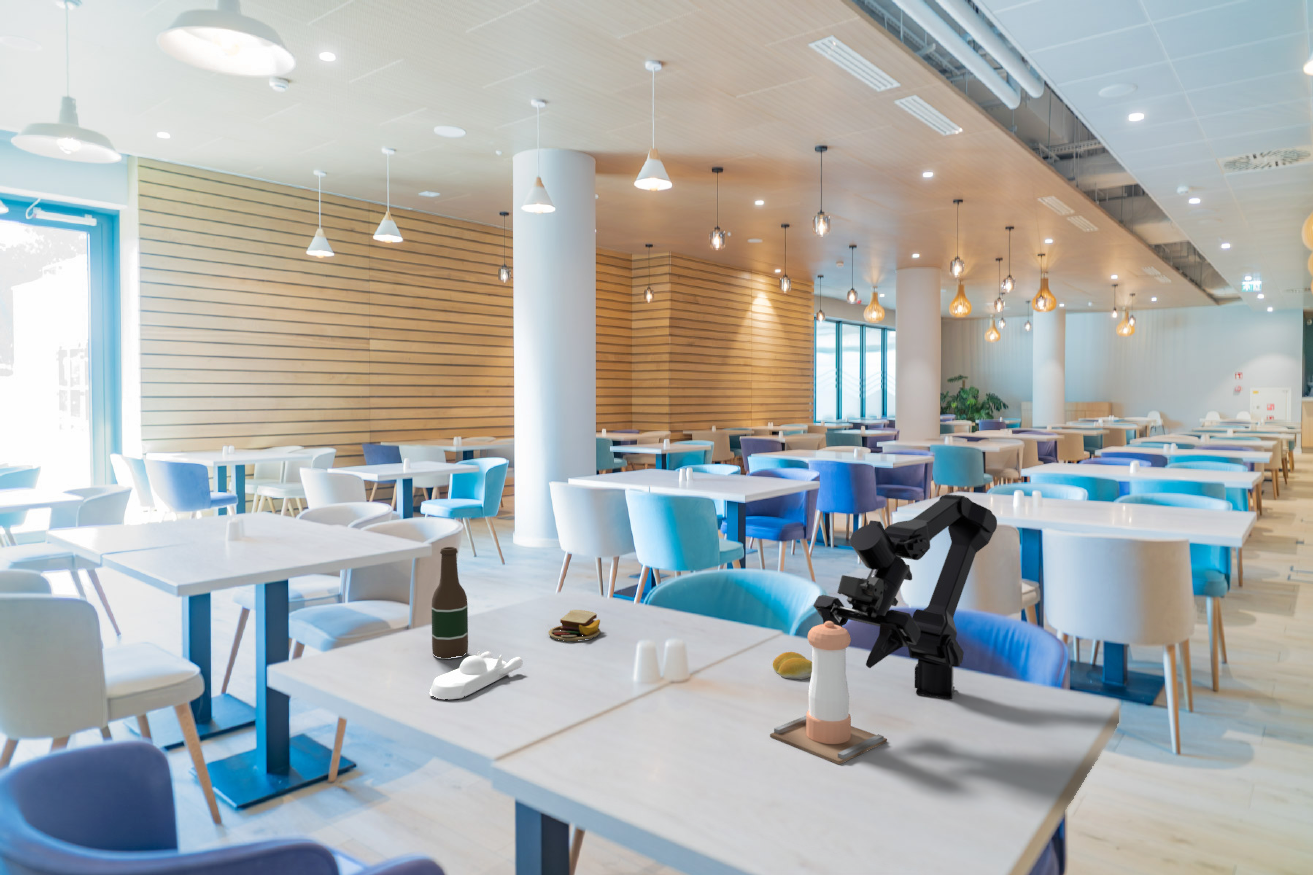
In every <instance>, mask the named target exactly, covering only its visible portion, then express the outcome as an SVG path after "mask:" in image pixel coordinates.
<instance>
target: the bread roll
mask: <svg viewBox="0 0 1313 875" xmlns="http://www.w3.org/2000/svg"><path fill="white" fill-rule="evenodd" d="M772 668H773V670H774V672H775V673H777V674H778V675H779V676H780V677H781V678H785V679H792V680H804V679H809V678H811V674H812V660H810V659H808V658H806V657H805V656H804V655H802V654H800V653H798V652H795V651H786V652H782V653H781V654H779V655H778V656H776V657H775V658H774V660H773V661H772Z"/></svg>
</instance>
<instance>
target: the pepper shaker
mask: <svg viewBox="0 0 1313 875" xmlns="http://www.w3.org/2000/svg"><path fill="white" fill-rule="evenodd" d="M807 640H808V643H809V645H811V647H812V649H811V651H812V653H811V654H812V656H811V657H812V658H811V661H812V674H811V677H810V680H809V687H808V691H807V692H808V710H807V712H806V715H805V716H806V735H807V736H808V737H809V738H810V739H812V740H814V741H817V742H820V743H825V744H840V743H845V742H847V741H849V740H850V738H851V726H852V717H851V714H850V713H849V709H850V707H849V706H850V693H849V687H848V685H849V684H848V680H847V679H848V678H847V661H846V660H847V659H846V658H847V656H846V655H847V649H846V648H848V647H849V646H850V643H851V641H852V639H851V635H850V633H849V631H848V630H847V628H844V627H843V626H842V627H841V626H838V625H834V623H833V622H832V621H826V622H825V623H824V624H823V623H822V624H818V625H814V626H812V627H811V629H810V630H809V631H808V633H807Z"/></svg>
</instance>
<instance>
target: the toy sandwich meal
mask: <svg viewBox="0 0 1313 875" xmlns="http://www.w3.org/2000/svg"><path fill="white" fill-rule="evenodd" d="M597 618H598V617H597V613H596V612H594V611H590V610H586V609H585V610H583V609H571V610H569V612H568V613H567V614H565V615H564V616H562V618H560V619H559V622H560V624H561V625H559V626H554V627H552V628H550V629H549V630H548V632H547V633H548V635H549V636H550V637H551V638H552V637H553V638H554V639H553V638H552V639H553V640H555V639H559V640H564V641H563V642H566V641H577V642H579V641H578V640H585V639H590V640H592V639H591V638H593V637H595V638H596V637H597V636H599V634H600V633H601V628H600V624H601V619H597ZM595 619H596V620H595ZM560 630H561V631H560ZM582 635H583V636H582ZM593 639H594V638H593ZM559 640H558V641H559ZM585 641H586V640H585Z"/></svg>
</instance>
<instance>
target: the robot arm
mask: <svg viewBox="0 0 1313 875" xmlns="http://www.w3.org/2000/svg"><path fill="white" fill-rule="evenodd" d="M997 526H998V519H997V517H996V515H995V514H993V512H992V511H991V509H988V508H987V507H984V506H983V505H981V504H979V503H977V502H973V500H971V499H970V498H969V497H966V496H965V495H959V494H950V493H949V494H947V493H946V494H944V495H941V496H940V498H939V500H938V501H936V502H934V503H933V504H932V505H931V506H929V507H927V508H926V509H925V510H923V511H922V512H921V513H919V514H918V515H916V516H915V517H913V518H912V519H909V520H902V521H897V522H894V523H891V524H890V525H888V526H886V528H884V525H883V523H882V522H881V521H879V520H869V522H868V524H866V525H863V526H860V527H859V528H858V529H856V530H855V531H853V532H852V533H851V536H850V537H849V542H850V546H851V547H852V549H853V551H854V552H855V553H856V554H857V556H858V558H859V559H860V560H861V562H862V563H863V565H864V566H865V567H866V568H867V569H870V571H869V573H868V576H867V577H866V578H865V577H861V578H860V577H855V576H850V575H844V574H842V575H841V578H840V582H839V585H838V589H837V594H839V595H843V596H846V597H847V599H846V602H847V603H848V604H849V605H851V608H850V607H846V606H845V605H844V603H843V602H842V601H841V600H840V598H839V597H835V596H831V595H825V594H821V595H819V596H817V598H816V600H815V601H814V603H813V605H812V606H813V607H814V608H815V610H816V611H817V614H818V615H819V616H820V617H821V618H822V624H824V623H825V622H826V621H832V622H833V623H834V625H838V626H841V627H843V626H845V625H847V623H848V622H849V620H850V621H854V622H858V623H863V624H866V625H871V626H876V627H879V632H878V633H879V634H878V637H876V640H875V643H874V644H873V646H872V649H871V650H870V653H869V655H868V656H867V657H868V658H867V660H866V662H865V666H866V667H867V668H868V669H871V668H873V667H874V666H875V665H877V664H878V663H880V662H882V660H883V659H885V658H886V657H888V656H889V655H891V654H893V653H894V652H896V651H898V650H900V649H901V648H904V647H905V648H907V650H908V654H909V657H910V658H911V659H916V660H917V663H916V664H915V667H914V688H915V689H916V690H915V694H916V695H919V696H927V697H933V698H941V699H948V700H952V699H953V696H954V692H955V689H956V688H955V686H954V671H955V670H954V668H956V667H957V668H958V667H960V666H961V664H962V663H963V659H964V653H965V652H964V651H963V649H962V647H961V645H960V644H959V643H958V640H956V639H957V635H958V631H957V627H956V624H955V620H954V616H955V613H956V610H957V607H958V606H959V605H958V604H959V602H960V599H961V597H962V594H963V590H964V588H965V585H966V582H967V580H968V576H969V573H970V571H971V568H972V565H973V564H974V563H973V562H974V560H975V557H976V555H977V553H978V552H979V551H981V550H982V549H983V548H985V547H986V546H987V545H989V543H990V541H991V539H992V537H993V535H994V533H995V531H996V529H997ZM946 528H947V530H948V534H949V537H950V541H951V542H950V546H949V549H948V552H947V553H946V557H945V560H944V562H943V565H942V568H941V570H940V573H939V576H938V579H937V581H936V584H935V586H934V589H933V592H932V595H931V598H930V601H929V603H928V605H927V606H926V607H925V608H924V609H920V608H919V609H918V608H917V609H916V610H914V612H913V615H911V614H910V613H909V612H903V611H901V610H896V609H891V608H892V606H894V607H897V605H898V603H899V601H898V599H897V598H896V597H897V595H898V593H899V591H900V589H901V586H902V585H903V582H904V581H905V580H906V581H912V580H913V573H912V571H911V568H910V565H909V564H907V563H906V562H905V561H904V559H906V560H907V559H908V560H914V561H919V560H921V559H922V558H923V557H924V556H925V554H926V553H927V552H928V551H929V550H930V549H931V541H932V539H934V538H935V537H936V536H937V535H939V534H940V533H941V532H943V531H944V530H946Z"/></svg>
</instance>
